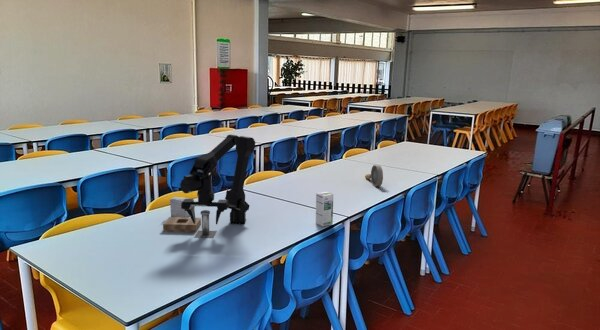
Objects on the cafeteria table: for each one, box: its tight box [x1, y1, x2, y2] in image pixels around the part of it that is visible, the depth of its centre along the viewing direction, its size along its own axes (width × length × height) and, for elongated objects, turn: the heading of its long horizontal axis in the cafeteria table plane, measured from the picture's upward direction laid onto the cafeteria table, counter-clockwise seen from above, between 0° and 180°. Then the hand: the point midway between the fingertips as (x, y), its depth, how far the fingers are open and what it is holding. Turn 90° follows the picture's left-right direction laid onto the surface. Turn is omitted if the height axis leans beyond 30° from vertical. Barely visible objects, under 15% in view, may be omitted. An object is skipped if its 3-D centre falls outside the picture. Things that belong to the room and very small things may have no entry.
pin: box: [200, 209, 211, 236], centre depth 183 cm, size 4×4×10 cm
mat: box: [193, 229, 218, 239], centre depth 184 cm, size 8×8×1 cm
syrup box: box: [315, 191, 334, 227], centre depth 199 cm, size 6×6×14 cm
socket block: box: [162, 216, 202, 233], centre depth 190 cm, size 14×9×4 cm, turn 90°
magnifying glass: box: [364, 164, 384, 187], centre depth 271 cm, size 13×3×25 cm
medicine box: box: [169, 196, 190, 218], centre depth 205 cm, size 8×4×9 cm, turn 74°
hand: (205, 223), depth 183 cm, fingers open, 9 cm apart
